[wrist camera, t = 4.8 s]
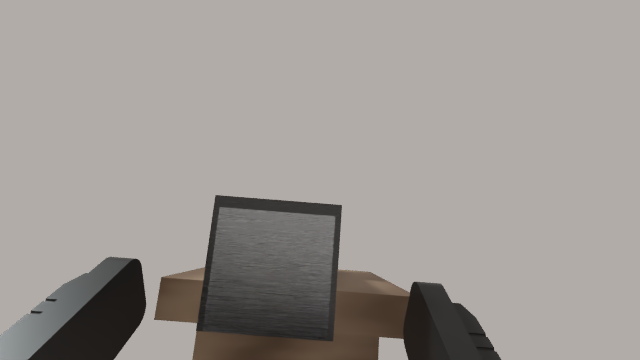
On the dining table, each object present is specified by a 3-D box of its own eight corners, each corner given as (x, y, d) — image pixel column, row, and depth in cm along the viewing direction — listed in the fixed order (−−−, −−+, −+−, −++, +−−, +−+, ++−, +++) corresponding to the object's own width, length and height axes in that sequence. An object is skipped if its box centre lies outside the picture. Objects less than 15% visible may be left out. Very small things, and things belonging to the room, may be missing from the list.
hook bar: (160, 328, 8) (189, 152, 8) (272, 265, 28) (277, 216, 29) (368, 344, 8) (376, 166, 8) (328, 270, 28) (331, 220, 29)
